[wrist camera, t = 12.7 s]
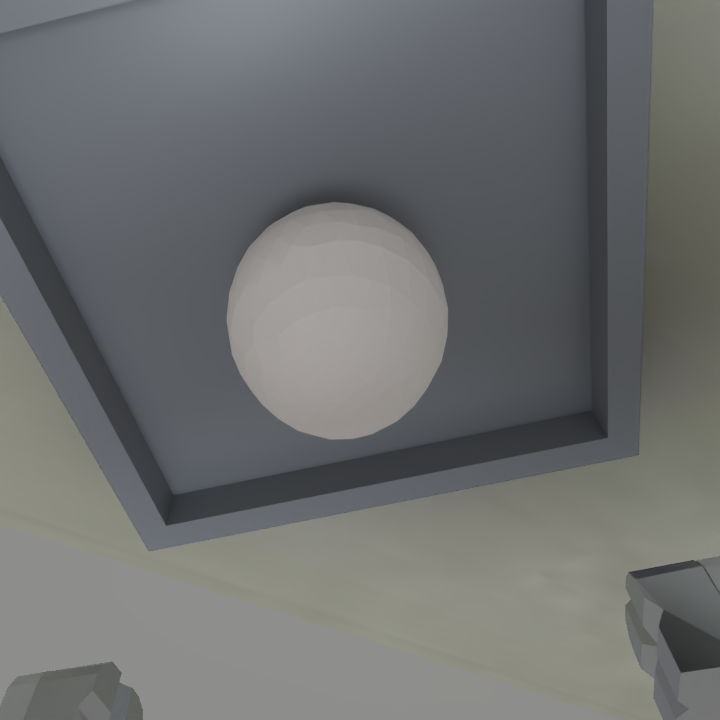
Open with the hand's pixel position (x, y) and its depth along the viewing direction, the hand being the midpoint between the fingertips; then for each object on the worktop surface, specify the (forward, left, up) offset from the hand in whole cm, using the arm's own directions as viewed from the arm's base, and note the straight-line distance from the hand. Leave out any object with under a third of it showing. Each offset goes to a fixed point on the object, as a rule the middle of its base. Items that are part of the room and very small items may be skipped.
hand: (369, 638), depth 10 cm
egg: (0, 0, -15) cm, 15 cm away
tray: (0, 0, -15) cm, 15 cm away
